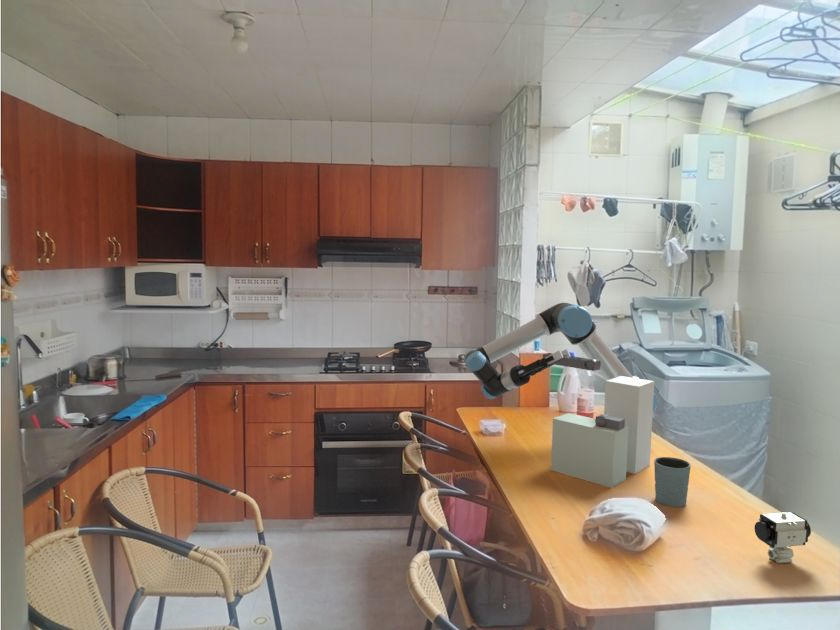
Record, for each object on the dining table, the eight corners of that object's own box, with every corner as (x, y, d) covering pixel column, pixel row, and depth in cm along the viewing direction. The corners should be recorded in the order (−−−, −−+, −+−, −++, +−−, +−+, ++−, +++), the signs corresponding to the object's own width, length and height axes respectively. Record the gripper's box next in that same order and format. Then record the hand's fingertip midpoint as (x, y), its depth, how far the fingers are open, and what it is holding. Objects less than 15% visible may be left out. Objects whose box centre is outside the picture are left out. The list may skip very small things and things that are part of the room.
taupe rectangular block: (601, 464, 208) (605, 380, 205) (617, 456, 217) (621, 375, 214) (635, 474, 200) (639, 386, 197) (649, 465, 209) (654, 381, 206)
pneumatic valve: (751, 557, 146) (755, 510, 145) (793, 553, 148) (797, 507, 147) (768, 568, 141) (771, 520, 139) (811, 565, 142) (815, 517, 141)
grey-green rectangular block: (551, 469, 203) (553, 408, 201) (566, 462, 210) (568, 403, 208) (611, 488, 188) (614, 422, 186) (625, 479, 195) (629, 415, 193)
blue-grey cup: (672, 510, 172) (674, 470, 171) (644, 497, 181) (646, 459, 180) (696, 504, 177) (698, 464, 176) (667, 491, 186) (670, 454, 184)
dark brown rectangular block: (541, 362, 211) (542, 353, 210) (549, 361, 214) (549, 351, 214) (593, 371, 197) (593, 361, 197) (600, 369, 200) (601, 359, 200)
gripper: (532, 383, 227) (582, 360, 212) (506, 390, 215) (556, 366, 200) (525, 365, 229) (573, 340, 214) (498, 370, 217) (547, 345, 202)
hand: (564, 353), depth 207 cm, fingers closed on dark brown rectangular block, 4 cm apart
